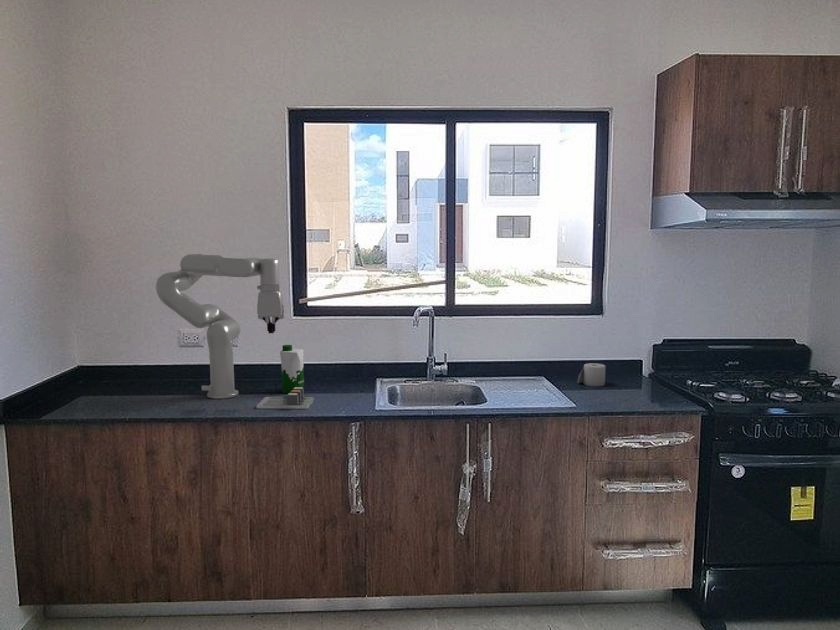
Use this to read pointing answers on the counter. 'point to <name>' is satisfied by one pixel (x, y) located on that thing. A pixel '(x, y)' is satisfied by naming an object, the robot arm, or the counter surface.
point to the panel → (284, 403)
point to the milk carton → (291, 368)
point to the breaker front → (292, 399)
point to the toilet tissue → (592, 374)
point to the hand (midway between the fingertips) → (271, 332)
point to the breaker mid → (297, 393)
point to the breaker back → (300, 390)
